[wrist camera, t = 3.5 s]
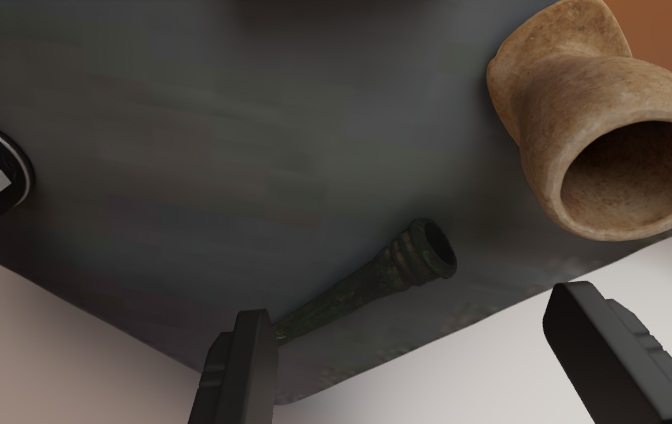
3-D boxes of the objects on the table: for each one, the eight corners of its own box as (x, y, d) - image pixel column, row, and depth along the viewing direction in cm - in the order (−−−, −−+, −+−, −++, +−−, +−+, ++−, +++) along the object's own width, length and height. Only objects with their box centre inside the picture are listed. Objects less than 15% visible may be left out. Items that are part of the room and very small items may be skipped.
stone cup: (441, 75, 30) (520, 159, 18) (588, -34, 26) (818, -22, 14) (517, 195, 37) (611, 314, 25) (642, 123, 33) (828, 223, 21)
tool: (419, 201, 38) (434, 242, 32) (451, 239, 40) (470, 283, 35) (235, 318, 47) (223, 366, 42) (272, 342, 50) (265, 389, 45)
